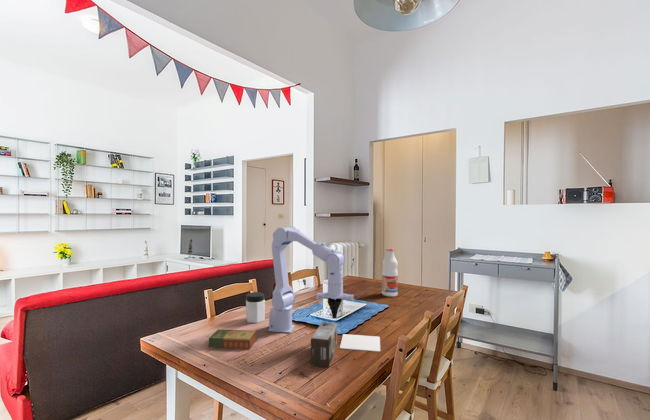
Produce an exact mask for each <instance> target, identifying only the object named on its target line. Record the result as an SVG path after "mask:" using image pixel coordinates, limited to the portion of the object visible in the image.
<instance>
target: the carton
mask: <svg viewBox="0 0 650 420" xmlns="http://www.w3.org/2000/svg"><path fill="white" fill-rule="evenodd" d="M256 341H257V330H244V329H243V330H241V329H219V328H218V329H217V330H215V332H214V333H212V334H211V336H209V337H208V347H209V348H215V349H216V348H217V349H235V350H251V348H252V347H253V345H254V344H255V343H256Z"/></svg>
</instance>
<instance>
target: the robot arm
mask: <svg viewBox="0 0 650 420" xmlns="http://www.w3.org/2000/svg"><path fill="white" fill-rule="evenodd" d="M293 242H297V243H298V244H301V245H302V246H304V247H306V248H308V249H309V250H311V251H312V255H313V256H315V257H317V259H320V260H322V262H324V263H325V265H326V266H327V292H316V297H315V298H316V299H317V300H320V299H323V300H327V304H328V306H329V309H330V311H331V315H332V317H331V318H332V319H337V316H338V311H339V308H340V306H341V303H342V301H351V302H353V301H354V294H349V293H345V292H343V270H344V269H343V265H344V264H345V262H346V257H345V255H344V254H343V253H342V252H341V251H336V250H335V249H334V248H331V247H328V246H327V244H326V243H325V242H316V241H314V240H312V239H311V238H310V237H309V236H308V235H306V234H304V233H303V232H302V231H301V230H300V229H299V228H296V227H295V226H289V227H288V226H287V227H286V226H285V227H277V228H276V229H275V230H274V232H273V233H272V243H271V254H272V261H273V270H274V271H273V272H274V282H275V287H274V289H273V291H272V298H271V305H272V307H271V308H270V310H269V314H268V318H269V319H268V332H276V333H288V334H290V333H291V332H292V330H293V329H294V328H295V324H293V305H294V304H295V301H296V295H295V293H294V289H293V287H292V286H291V285H290V284H289V275H288V268H287V267H288V266H287V258H286V248H288V247H287V246H289V244H291V243H293Z"/></svg>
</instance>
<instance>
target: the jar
mask: <svg viewBox="0 0 650 420" xmlns="http://www.w3.org/2000/svg"><path fill="white" fill-rule="evenodd" d="M245 296H246V297H245V298H246V299H245V320H246V323H249V324H258V323H261V322H264V321H265V317H266V316H265V312H266V311H265V309H266V308H265V307H266V306H265V304H266V302H265V301H266V300H265V294H264V292H261V291H253V292H248V293H247V294H246V295H245Z"/></svg>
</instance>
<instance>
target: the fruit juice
mask: <svg viewBox="0 0 650 420" xmlns="http://www.w3.org/2000/svg"><path fill="white" fill-rule="evenodd" d="M385 252H386V253H385V256H384V258H383V260H382V264H381V265H382V271H381V294H382V296H384V297H397V296H398V292H399V291H398V290H399V289H398V288H399V287H398V285H399V271H398V266H399V263H398V260H397V259H396V256H395V253H394V252H395V248H393V247H392V248H391V247H387V248H386V249H385Z"/></svg>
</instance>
